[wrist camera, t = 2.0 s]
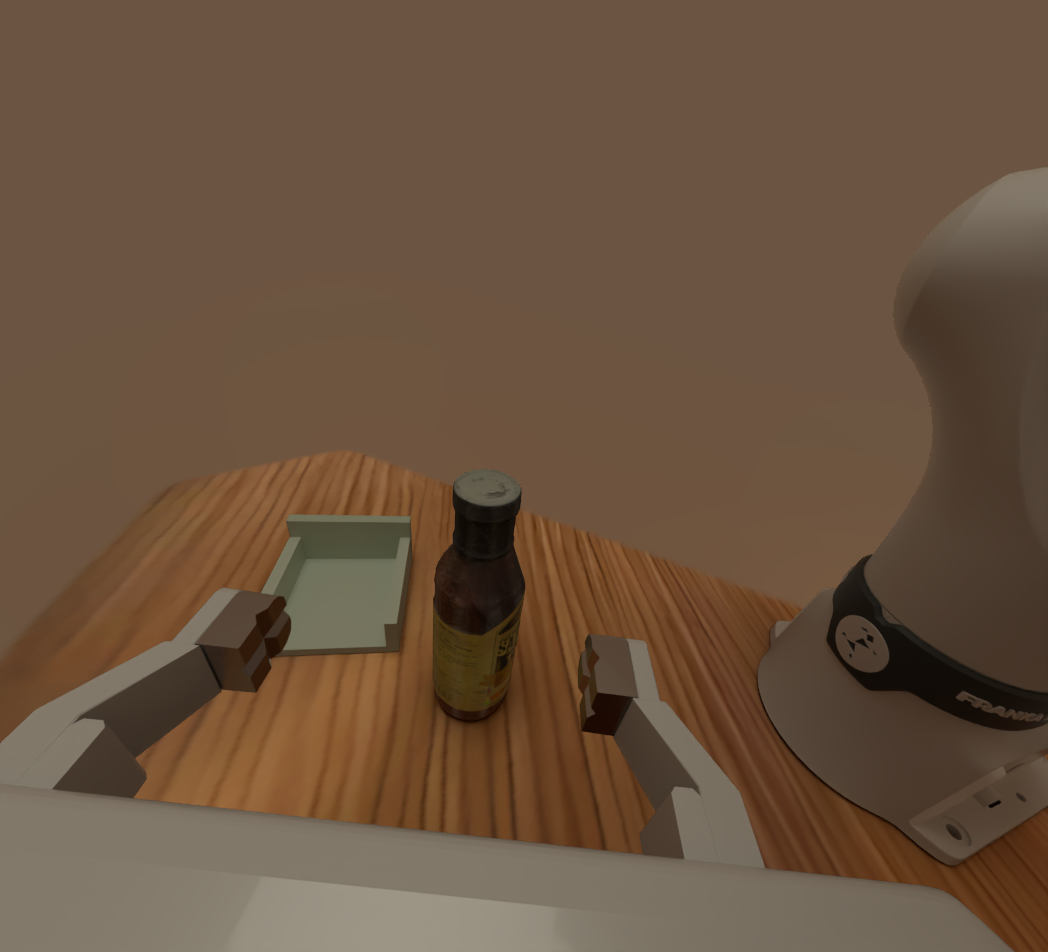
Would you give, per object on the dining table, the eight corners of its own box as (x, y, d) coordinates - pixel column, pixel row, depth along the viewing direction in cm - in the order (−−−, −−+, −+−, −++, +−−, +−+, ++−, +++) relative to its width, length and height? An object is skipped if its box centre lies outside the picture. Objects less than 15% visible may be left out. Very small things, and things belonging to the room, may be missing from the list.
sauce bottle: (505, 729, 31) (542, 533, 21) (424, 720, 31) (419, 519, 21) (510, 652, 37) (542, 466, 26) (442, 645, 37) (445, 454, 26)
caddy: (412, 557, 45) (410, 516, 42) (398, 651, 36) (395, 607, 33) (300, 557, 43) (289, 514, 40) (254, 657, 34) (236, 611, 31)
